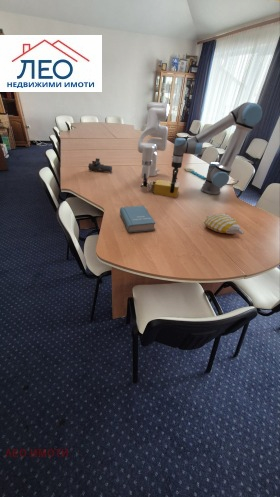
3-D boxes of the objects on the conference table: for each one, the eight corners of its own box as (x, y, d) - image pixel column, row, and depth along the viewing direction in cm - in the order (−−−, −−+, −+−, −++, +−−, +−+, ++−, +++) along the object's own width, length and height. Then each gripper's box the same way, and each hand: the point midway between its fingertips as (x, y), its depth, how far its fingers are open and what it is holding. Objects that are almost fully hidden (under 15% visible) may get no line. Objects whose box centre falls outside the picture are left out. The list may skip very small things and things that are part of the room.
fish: (254, 225, 128) (232, 232, 118) (249, 236, 132) (228, 244, 123) (221, 208, 144) (199, 213, 134) (217, 218, 149) (196, 224, 139)
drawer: (139, 190, 177) (140, 183, 173) (142, 186, 184) (143, 179, 181) (168, 194, 173) (169, 187, 170) (169, 190, 181) (170, 182, 177)
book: (154, 230, 131) (155, 222, 128) (128, 232, 126) (128, 225, 124) (143, 212, 148) (143, 205, 145) (119, 214, 144) (120, 207, 141)
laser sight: (109, 174, 206) (109, 163, 200) (87, 171, 209) (86, 160, 203) (112, 171, 214) (112, 160, 208) (90, 168, 217) (90, 157, 211)
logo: (182, 168, 234) (183, 167, 234) (191, 168, 237) (191, 167, 236) (198, 179, 209) (198, 178, 208) (207, 179, 211) (207, 178, 211)
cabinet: (153, 193, 175) (154, 184, 170) (156, 189, 184) (157, 179, 179) (176, 197, 172) (178, 187, 167) (177, 192, 181) (179, 182, 176)
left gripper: (143, 160, 174) (142, 182, 185) (139, 164, 162) (138, 188, 173) (153, 161, 173) (151, 184, 184) (149, 166, 161) (147, 190, 172)
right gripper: (173, 157, 172) (169, 184, 185) (170, 165, 154) (165, 194, 167) (183, 158, 171) (178, 185, 184) (180, 166, 152) (175, 196, 165)
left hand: (144, 186), depth 178 cm, fingers closed
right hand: (172, 190), depth 175 cm, fingers closed on cabinet, 11 cm apart
